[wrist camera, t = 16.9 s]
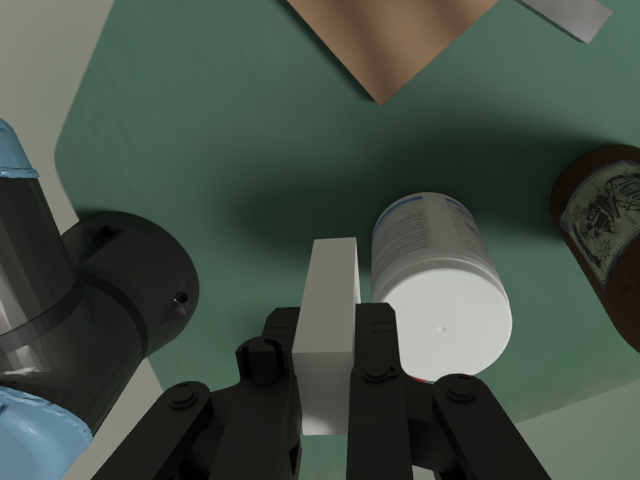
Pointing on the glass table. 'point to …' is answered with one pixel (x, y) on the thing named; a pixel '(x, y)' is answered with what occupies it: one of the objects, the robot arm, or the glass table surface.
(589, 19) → the disc with handle bar
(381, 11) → the square wooden board
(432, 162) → the glass table surface
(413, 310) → the supplement tub
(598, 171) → the olive oil
